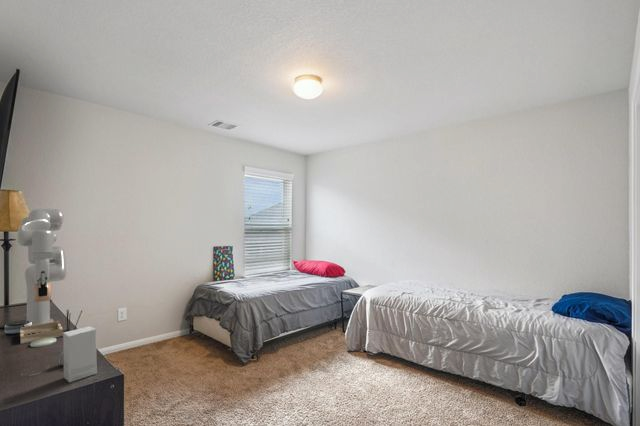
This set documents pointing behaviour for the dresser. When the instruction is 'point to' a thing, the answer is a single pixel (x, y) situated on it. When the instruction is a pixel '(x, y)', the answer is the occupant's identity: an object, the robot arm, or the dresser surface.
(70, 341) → the skincare box
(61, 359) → the reed diffuser
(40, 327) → the wooden frame
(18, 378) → the dresser surface
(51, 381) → the dresser surface
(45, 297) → the terracotta pot
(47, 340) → the pale mint disc
